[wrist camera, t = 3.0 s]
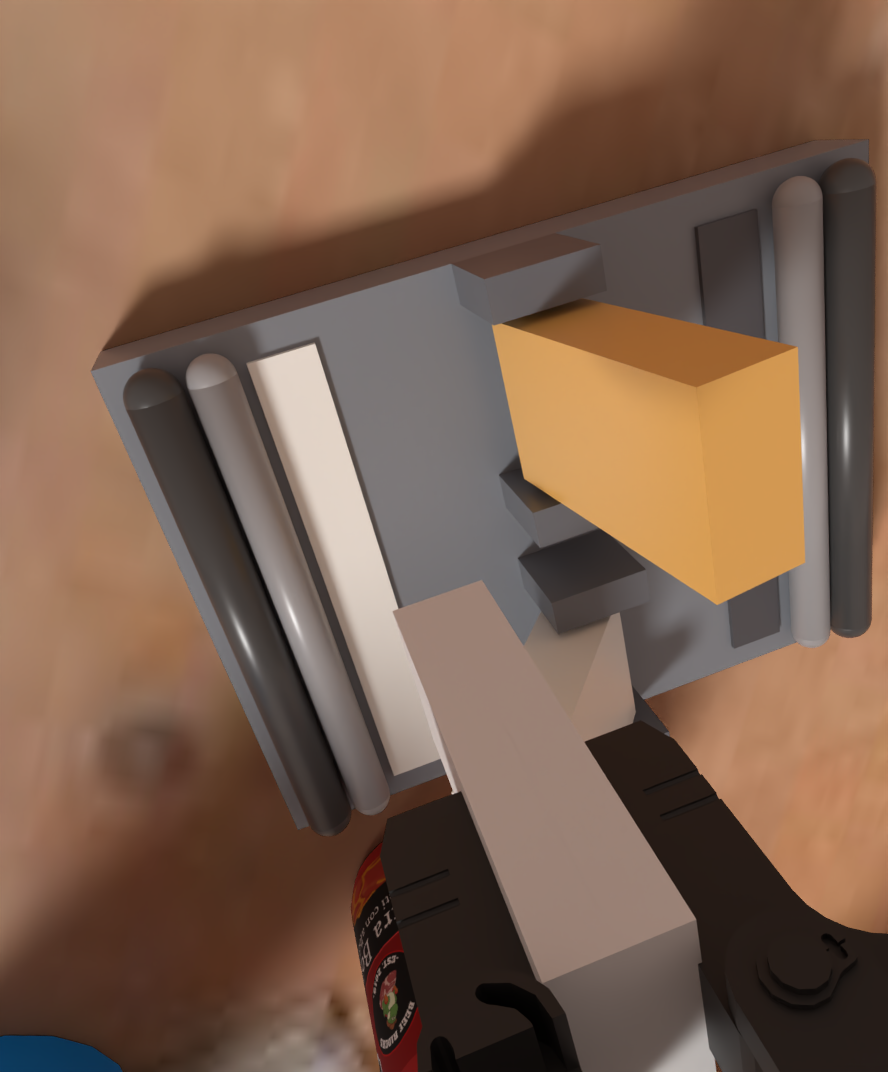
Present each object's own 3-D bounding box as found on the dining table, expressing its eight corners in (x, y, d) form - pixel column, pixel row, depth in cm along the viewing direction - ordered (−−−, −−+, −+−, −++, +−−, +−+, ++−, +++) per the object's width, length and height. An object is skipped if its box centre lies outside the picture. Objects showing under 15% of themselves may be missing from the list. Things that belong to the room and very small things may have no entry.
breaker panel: (825, 587, 36) (925, 658, 31) (291, 784, 33) (307, 898, 28) (815, 140, 28) (951, 138, 23) (100, 351, 25) (74, 403, 20)
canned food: (405, 791, 35) (483, 1037, 25) (548, 841, 38) (665, 1075, 29) (313, 921, 37) (352, 1198, 27) (458, 957, 40) (538, 1215, 30)
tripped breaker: (577, 444, 27) (804, 562, 19) (512, 471, 26) (717, 605, 18) (550, 290, 25) (797, 346, 16) (478, 316, 24) (696, 387, 16)
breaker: (640, 696, 31) (570, 932, 23) (577, 691, 32) (490, 915, 24) (622, 584, 28) (538, 805, 21) (555, 582, 29) (451, 792, 22)
